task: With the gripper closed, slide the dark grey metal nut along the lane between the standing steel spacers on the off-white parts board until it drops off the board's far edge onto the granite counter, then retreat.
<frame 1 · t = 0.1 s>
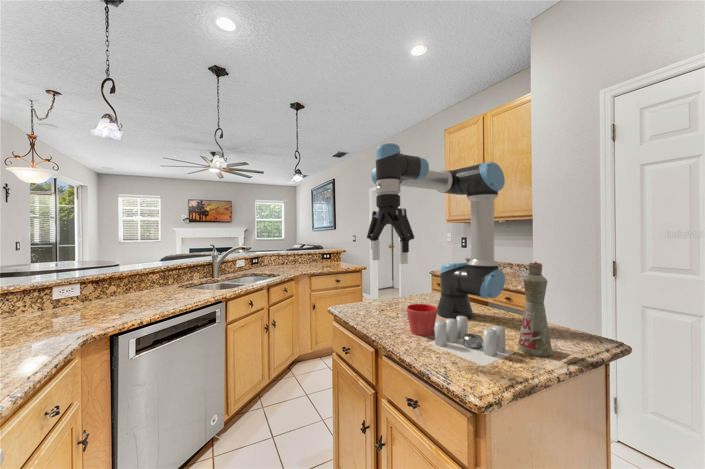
hand: (388, 261, 90), 28 cm above the worktop, fingers open, 13 cm apart
flower pot: (422, 334, 104), on the worktop
bottle: (535, 353, 87), on the worktop
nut: (472, 345, 91), point 1 cm above the worktop, touching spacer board
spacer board: (468, 349, 90), on the worktop
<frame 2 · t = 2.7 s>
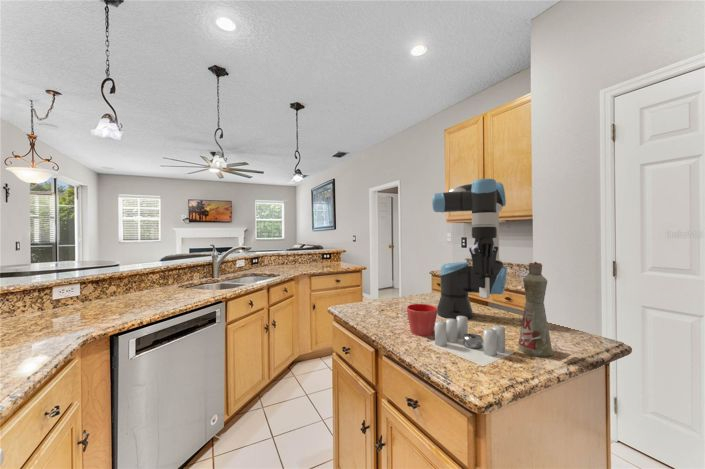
hand: (484, 297, 95), 15 cm above the worktop, fingers closed
nothing on the worktop moved.
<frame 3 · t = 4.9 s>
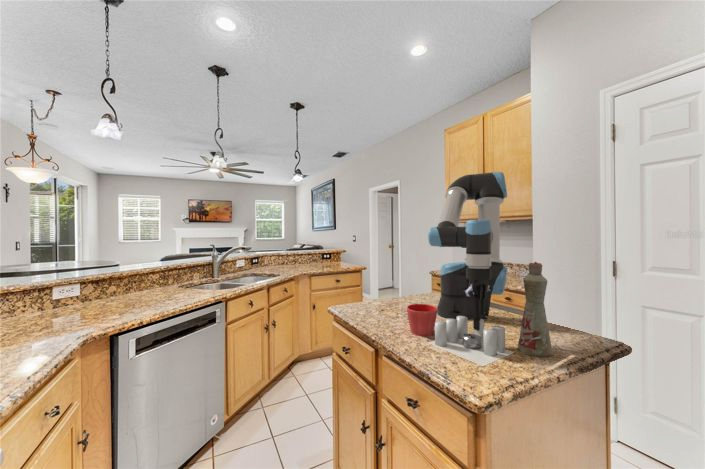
hand: (478, 339, 93), 2 cm above the worktop, fingers closed
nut: (472, 346, 91), point 1 cm above the worktop, touching gripper
everything else where it was.
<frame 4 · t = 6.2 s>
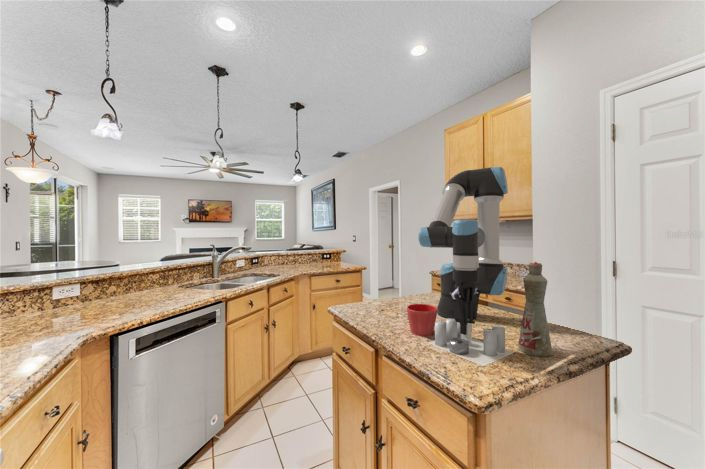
hand: (466, 343, 89), 2 cm above the worktop, fingers closed
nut: (459, 351, 87), point 1 cm above the worktop
everything else where it was.
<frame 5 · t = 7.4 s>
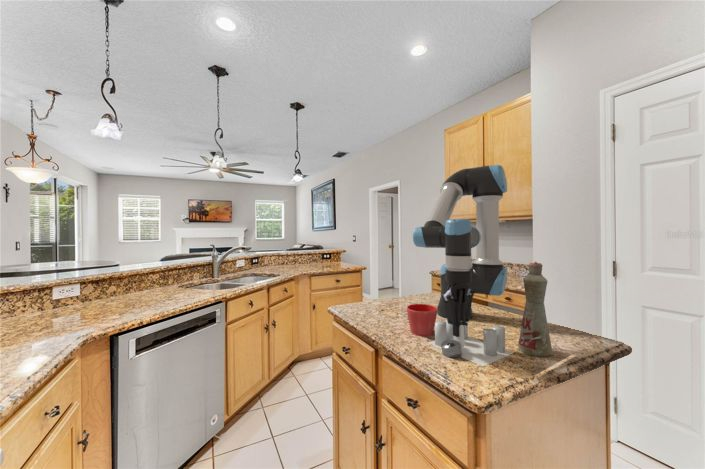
hand: (458, 346, 87), 2 cm above the worktop, fingers closed
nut: (452, 354, 85), point 1 cm above the worktop, tilted 12°, touching gripper
everything else where it was.
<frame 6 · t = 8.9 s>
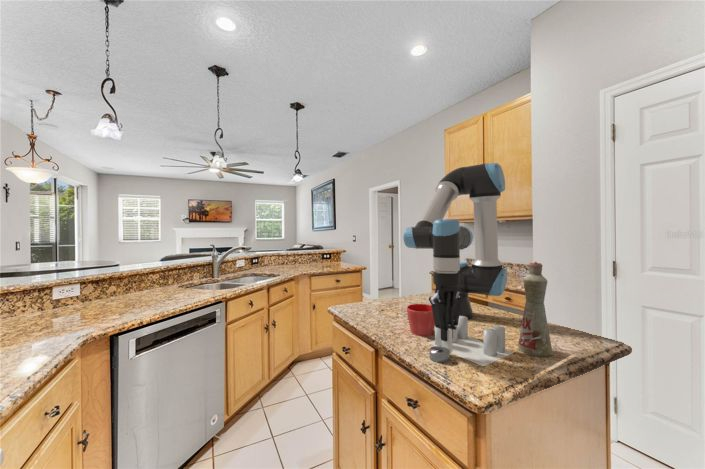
hand: (447, 350, 85), 2 cm above the worktop, fingers closed
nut: (439, 360, 82), on the worktop, touching gripper
everything else where it was.
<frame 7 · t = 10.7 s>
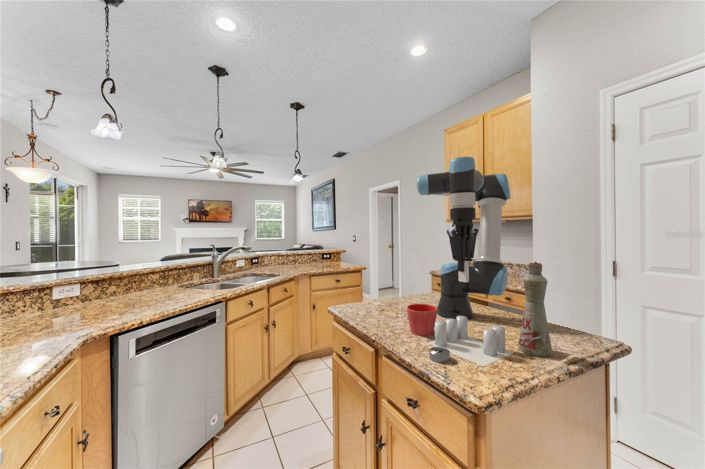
hand: (463, 281, 91), 21 cm above the worktop, fingers closed
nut: (439, 361, 82), on the worktop
everything else where it was.
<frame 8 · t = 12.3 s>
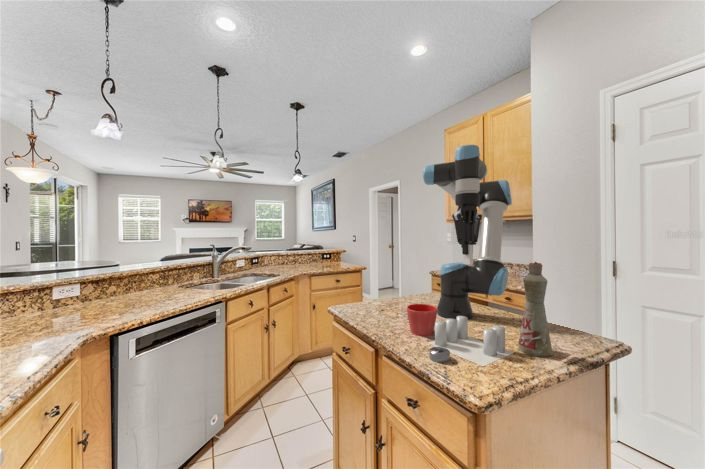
hand: (467, 264, 95), 26 cm above the worktop, fingers closed
nothing on the worktop moved.
at the end: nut inside the target area (1.1 cm from its centre), on the worktop; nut touching worktop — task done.
